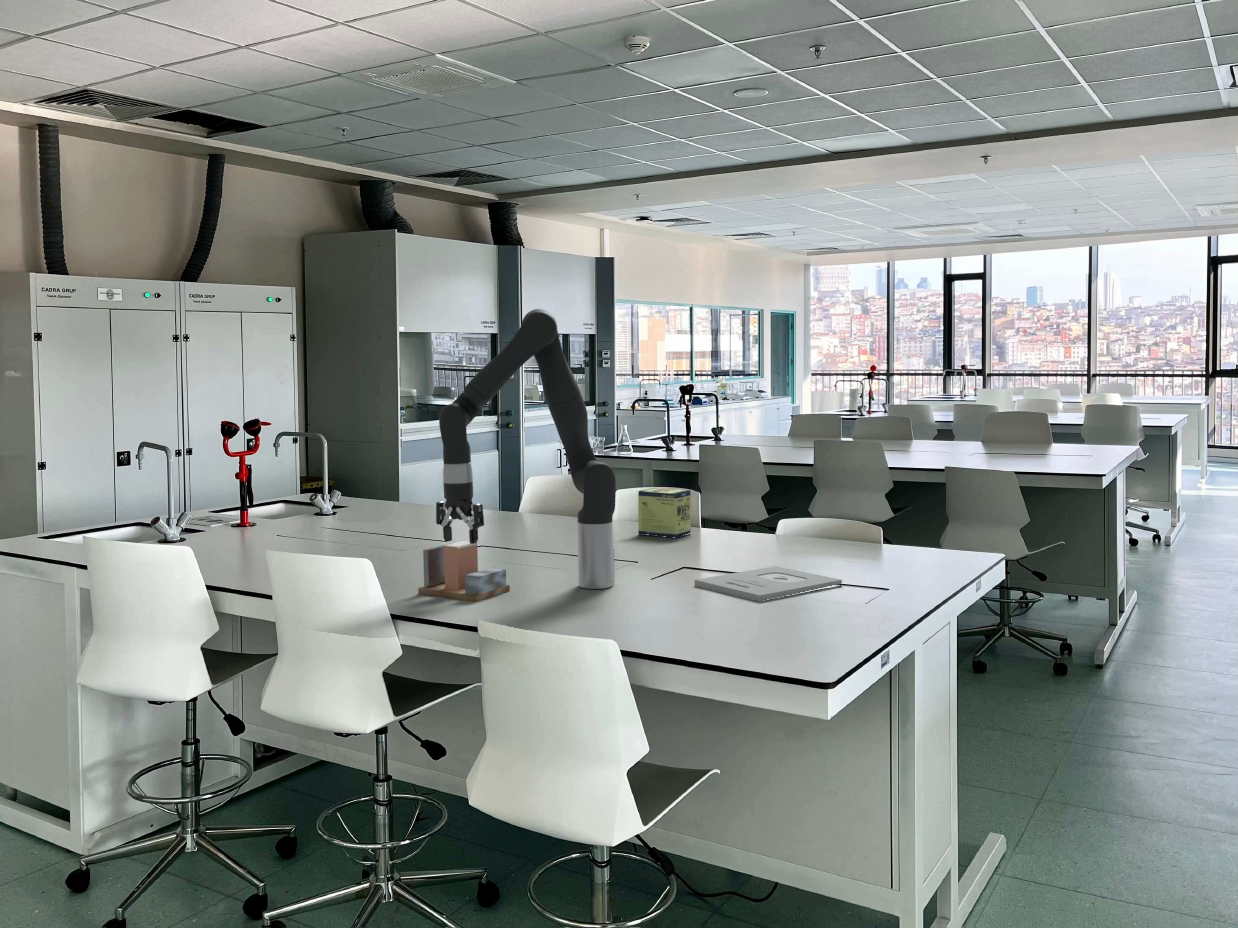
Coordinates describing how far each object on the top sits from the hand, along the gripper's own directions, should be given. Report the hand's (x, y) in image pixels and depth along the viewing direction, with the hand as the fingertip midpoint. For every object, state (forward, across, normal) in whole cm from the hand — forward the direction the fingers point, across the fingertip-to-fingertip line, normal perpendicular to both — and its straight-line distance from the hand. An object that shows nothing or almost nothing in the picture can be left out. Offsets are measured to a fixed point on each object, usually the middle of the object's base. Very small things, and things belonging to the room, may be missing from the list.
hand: (460, 542), depth 271 cm
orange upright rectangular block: (+12, 0, +1) cm, 12 cm away
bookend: (+11, +7, +1) cm, 13 cm away
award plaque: (+15, -66, -45) cm, 82 cm away
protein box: (+15, -1, -105) cm, 106 cm away
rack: (+13, -1, +1) cm, 13 cm away
